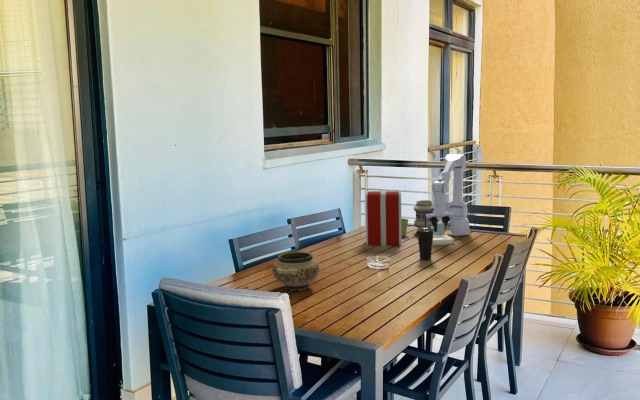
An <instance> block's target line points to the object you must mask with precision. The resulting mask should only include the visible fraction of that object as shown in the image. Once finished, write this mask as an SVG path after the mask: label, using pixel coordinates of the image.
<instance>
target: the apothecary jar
mask: <svg viewBox="0 0 640 400" xmlns="http://www.w3.org/2000/svg"><path fill="white" fill-rule="evenodd" d="M413 211H414V212H415V220H414V222H413V225H414V226H415V227H416V228H417V229H419V228H421V227H425V216H426V214H431V213H434V203H433V201H432V200H430V199H429V200H428V199H427V200H426V199H424V200H416V204H415V205H414V206H413ZM432 226H433V225H432V223H431V221H430V218H426V227H432ZM415 234H417V235H418V231H417V230H416V231H415Z"/></svg>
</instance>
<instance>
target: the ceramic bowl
mask: <svg viewBox="0 0 640 400" xmlns="http://www.w3.org/2000/svg"><path fill="white" fill-rule="evenodd" d="M277 259H278V260H276V261H275V262H274V264H273V267H272V274H273V276H274V278H275V279H276V280H277V281H278V282H279V283H280V284H281V285H284V289H286V290H287V289H290V290H289V291H292V290H299V291H304V290H307V289H308V288H309V287H310V285H309V284H311V283H312V282H313V281H314V280H315V279H316V278H317V277H318V275H319V271H320V265H319V262H318V261H317V260H316V259H315V258H313V253H312V252H308V251H287V252H282V253H280V254H278V256H277ZM306 288H307V289H306ZM303 289H304V290H303Z"/></svg>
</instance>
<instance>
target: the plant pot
mask: <svg viewBox="0 0 640 400" xmlns="http://www.w3.org/2000/svg"><path fill="white" fill-rule="evenodd" d="M409 221H410V220H409V218H401V226H402V237H404V236H406V235H407V229H408V224H409Z"/></svg>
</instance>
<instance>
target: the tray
mask: <svg viewBox="0 0 640 400" xmlns="http://www.w3.org/2000/svg"><path fill="white" fill-rule="evenodd" d="M443 245H444V246H445V245H447V246H448V245H455V238H453V237H451V236H448V235H447V234H445V235H438V236H437V235H435V234H433V242H432V247H433V246H443Z"/></svg>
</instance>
